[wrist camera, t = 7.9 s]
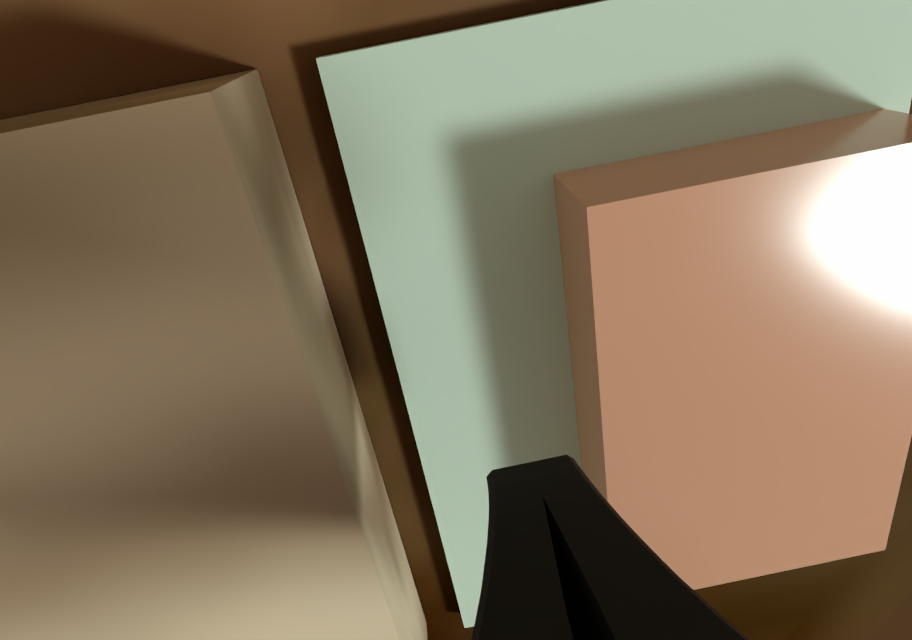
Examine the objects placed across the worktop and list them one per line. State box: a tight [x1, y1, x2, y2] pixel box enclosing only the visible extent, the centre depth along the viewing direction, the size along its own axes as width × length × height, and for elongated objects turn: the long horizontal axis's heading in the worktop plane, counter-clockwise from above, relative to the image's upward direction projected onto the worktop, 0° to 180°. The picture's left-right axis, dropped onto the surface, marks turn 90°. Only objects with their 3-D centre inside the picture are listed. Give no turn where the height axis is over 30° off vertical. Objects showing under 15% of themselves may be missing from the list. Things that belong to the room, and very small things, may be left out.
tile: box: [553, 109, 912, 590], centre depth 12 cm, size 9×6×2 cm, turn 10°
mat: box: [316, 0, 912, 628], centre depth 13 cm, size 14×10×1 cm
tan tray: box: [0, 69, 427, 640], centre depth 12 cm, size 14×12×3 cm
